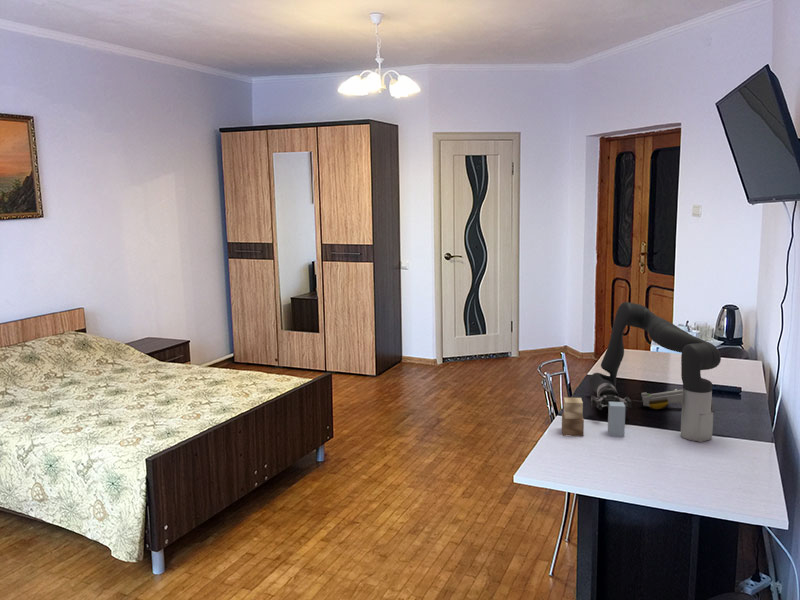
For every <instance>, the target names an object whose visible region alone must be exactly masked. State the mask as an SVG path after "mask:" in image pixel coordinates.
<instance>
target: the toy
mask: <svg viewBox="0 0 800 600" xmlns="http://www.w3.org/2000/svg"><path fill="white" fill-rule="evenodd" d="M682 394H683V388H681V389H677V390H675V389H674V390H670V391H669V390H668V391H662V392H655V393H647V391H646V392H641V401H642V404H643V406H644V407H649V409H652V410H659V409H660V410H661V409H666V407H668V406H669V404H675V405H678V404H679V405H680V406H681V407H682ZM714 407H715V406H714V403H713V398H712V399H711V412H714V411H715V410H714Z"/></svg>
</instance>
